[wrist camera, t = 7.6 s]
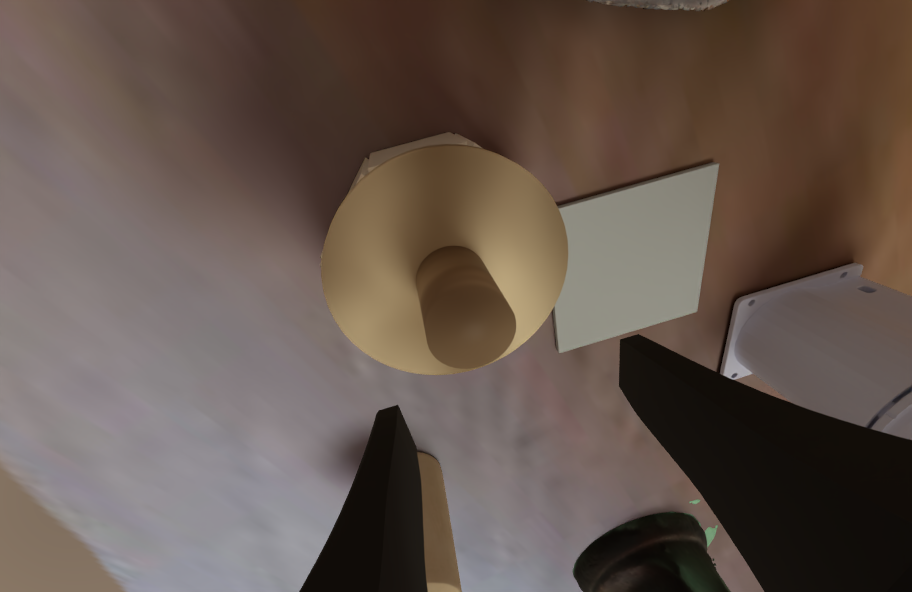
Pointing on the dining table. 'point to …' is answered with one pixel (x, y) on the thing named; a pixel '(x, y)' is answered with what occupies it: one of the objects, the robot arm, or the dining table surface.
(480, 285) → the lid
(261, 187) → the dining table surface
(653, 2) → the food plate
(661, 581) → the black rounded piece
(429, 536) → the candle
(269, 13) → the dining table surface
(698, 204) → the mat
